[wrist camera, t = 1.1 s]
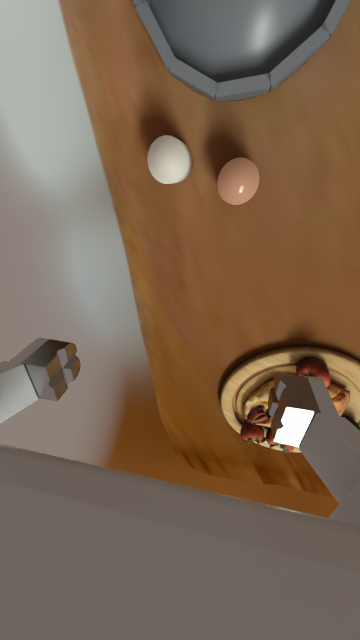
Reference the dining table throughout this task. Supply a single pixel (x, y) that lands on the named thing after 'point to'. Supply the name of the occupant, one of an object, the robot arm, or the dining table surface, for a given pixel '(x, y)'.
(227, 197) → the brown egg
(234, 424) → the wooden plate with food
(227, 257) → the dining table surface
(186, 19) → the groove tray
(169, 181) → the white egg
